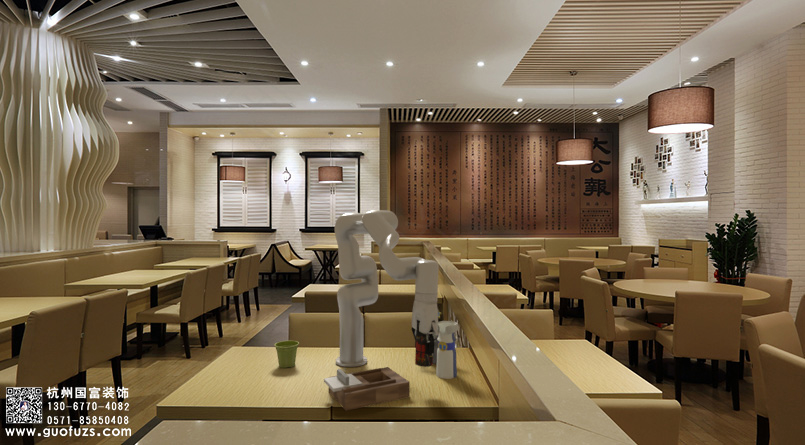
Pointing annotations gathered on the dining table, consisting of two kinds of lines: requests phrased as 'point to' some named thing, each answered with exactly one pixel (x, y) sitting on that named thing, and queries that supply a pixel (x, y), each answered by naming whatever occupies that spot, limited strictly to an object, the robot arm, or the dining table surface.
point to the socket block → (372, 389)
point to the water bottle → (446, 349)
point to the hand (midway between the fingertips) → (424, 349)
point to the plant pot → (286, 353)
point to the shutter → (341, 381)
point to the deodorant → (422, 349)
